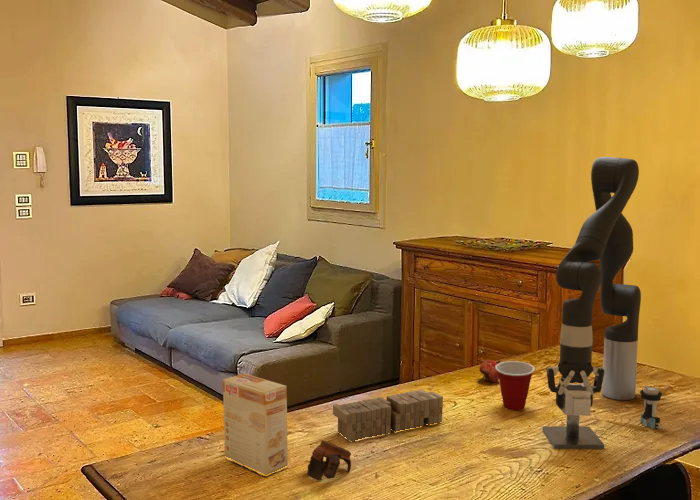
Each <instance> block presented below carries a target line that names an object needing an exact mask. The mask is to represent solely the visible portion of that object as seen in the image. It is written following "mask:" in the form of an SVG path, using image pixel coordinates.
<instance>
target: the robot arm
mask: <svg viewBox="0 0 700 500" xmlns="http://www.w3.org/2000/svg"><path fill="white" fill-rule="evenodd" d="M639 176H640V168H639V164H638V163H637V160H635V159H633V158H626V157H624V158H623V157H613V156H600V157H599V156H598V157H597V158H596V159H595V160H594V161H593V163H592V165H591V171H590V180H591V182H590V183H591V188H592V189H591V190H592V195H593V200H594V207H595V211H594V212H593V213H592V214H591V215H590V216H588V218H586V220H585V221H584V222H583V224H582V226H581V227H580V230H579V232H578V235H577V238H576V240H575V242H574V244H573V246H572V247H571V248H570V250H569V251H568V252H567V254H565V255H564V257H563V258H562V259H561V261H560V262H559V264H558V266H557V268H556V273H555V280H556V283H557V285H558V286H559V287H560V288H562V289H565V290H570V291H571V290H573V291H579V292H581V293H580V294H581V295H580V296H579V298H570V299H566V300H564V302H563V303H562V314H561V317H562V318H561V328H560V338H559V339H560V340H559V341H560V342H559V344H560V345H559V363H558V364H557V366H552V367H551V366H550V365H548V366H546V369H545V370H546V378H547V387H548V389H549V390H550V391H551V392H552V393H555V404H556V406H557V407H558V409H559V410H561V409H563V392H564V389H565V388H566V387H567V386H568V384H583V385H584V387H586V389H589V390H590V391H591V395H590V399H591V408H592V407H593V398H594V395H595V394H596V393H601V394H602V396H604V397H605V398H609V399H611V400H618V401H620V400H621V401H628V400H629V401H630V400H633V399H635V398H636V391H637V390H636V388H637V387H636V385H637V366H638V347H639V346H638V343H639V323H640V322H639V321H640V312H641V304H642V303H641V300H642V292H641V289H640V287H639V286H638V285H633V284H621V283H614V279H615V278H616V276H617V274H618V273H619V272H620V270H621V269H622V268H624V266H625V265H626V264H627V262H628V261H629V260H630V258H631V257H632V255H633V253H634V232H633V229H632V225H631V224H630V222H629V220H627V218H626V217H625V215H624V214H623V211H624V209H625V207H626V206H627V204H628V202H629V201H630V199H631V198H632V197H631V196H632V195H633V193H634V191H635V189H636V187H637V184H638V180H639ZM612 194H613V195H612ZM598 260H599V265H598V264H596V263H593V262H595V261H598ZM599 290H600V291H599ZM598 291H599V292H600V296H599V298H600V308H601V311H602V313H604V314H606V315H609V316H616V317H617V316H618V317H626V320H625V321H623V322H621V323H617V324H613V325H610V326H606V327H605V329H604V336H603V337H604V341H603V342H604V343H603V344H604V345H603V364H602V367H601V366H599V365H598V366H597V367H596V366H593V364H592V362H593V361H592V360H593V359H592V357H593V343H594V339H593V334H594V333H593V312H594V311H593V310H594V305H595V300H596V297H597V294H598ZM558 372H559V374H560V375H561V376H560V378H559V381H558V383H557V386H556V379H555V376H557V374H558ZM592 373H593V375H594V381H593V385H592V386H591V383H590V381H589V376H591V375H592Z"/></svg>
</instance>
